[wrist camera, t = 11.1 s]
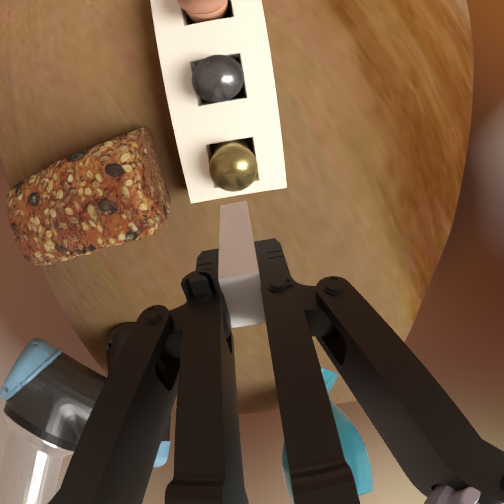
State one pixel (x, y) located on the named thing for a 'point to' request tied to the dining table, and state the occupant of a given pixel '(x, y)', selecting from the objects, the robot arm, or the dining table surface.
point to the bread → (90, 200)
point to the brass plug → (233, 165)
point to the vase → (350, 446)
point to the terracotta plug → (204, 9)
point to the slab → (228, 112)
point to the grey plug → (217, 78)
